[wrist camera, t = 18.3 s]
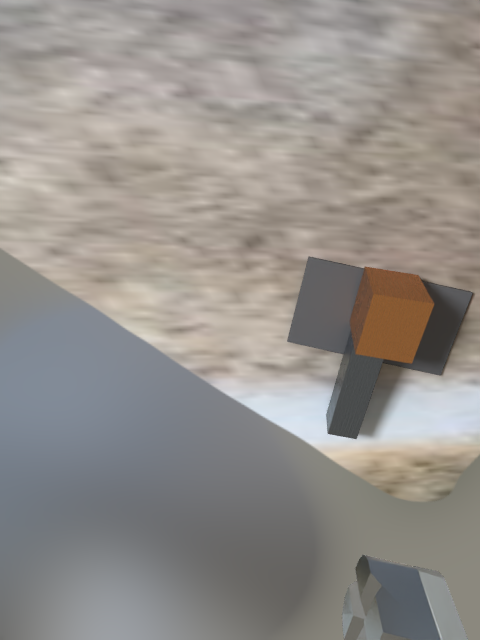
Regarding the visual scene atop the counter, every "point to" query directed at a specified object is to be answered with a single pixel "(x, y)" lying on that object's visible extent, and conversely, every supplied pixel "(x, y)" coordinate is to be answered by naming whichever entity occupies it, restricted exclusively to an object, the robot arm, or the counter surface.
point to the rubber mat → (337, 304)
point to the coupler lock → (376, 341)
